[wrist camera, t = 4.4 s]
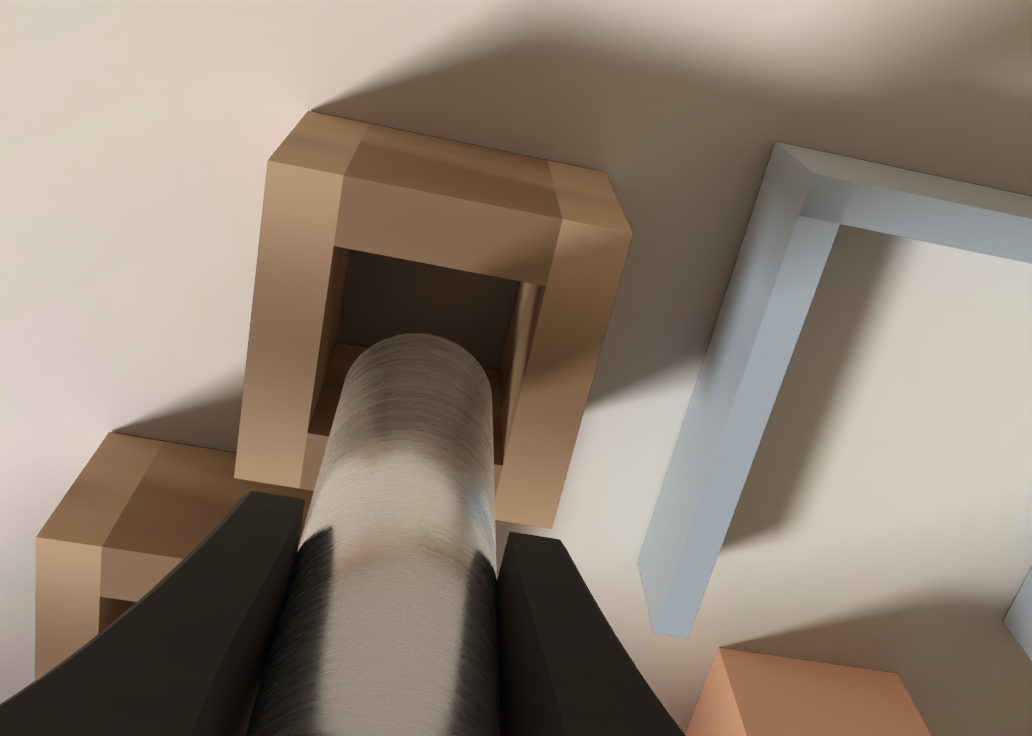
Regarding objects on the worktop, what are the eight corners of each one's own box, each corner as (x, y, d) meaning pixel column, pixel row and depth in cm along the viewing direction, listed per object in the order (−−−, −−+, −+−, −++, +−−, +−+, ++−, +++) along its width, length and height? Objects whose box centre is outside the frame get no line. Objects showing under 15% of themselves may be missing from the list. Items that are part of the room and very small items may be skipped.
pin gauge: (474, 476, 16) (469, 934, 9) (331, 450, 16) (209, 902, 9) (507, 350, 15) (531, 749, 8) (355, 318, 15) (241, 705, 8)
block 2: (540, 426, 22) (551, 529, 19) (275, 381, 22) (233, 477, 18) (605, 172, 20) (633, 233, 16) (307, 110, 19) (267, 160, 15)
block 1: (339, 670, 25) (316, 799, 22) (100, 637, 24) (35, 764, 21) (374, 475, 23) (354, 584, 19) (108, 431, 22) (36, 537, 18)
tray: (1030, 625, 25) (1084, 696, 23) (637, 564, 24) (653, 632, 22) (1244, 242, 21) (1337, 283, 19) (775, 141, 20) (813, 172, 17)
